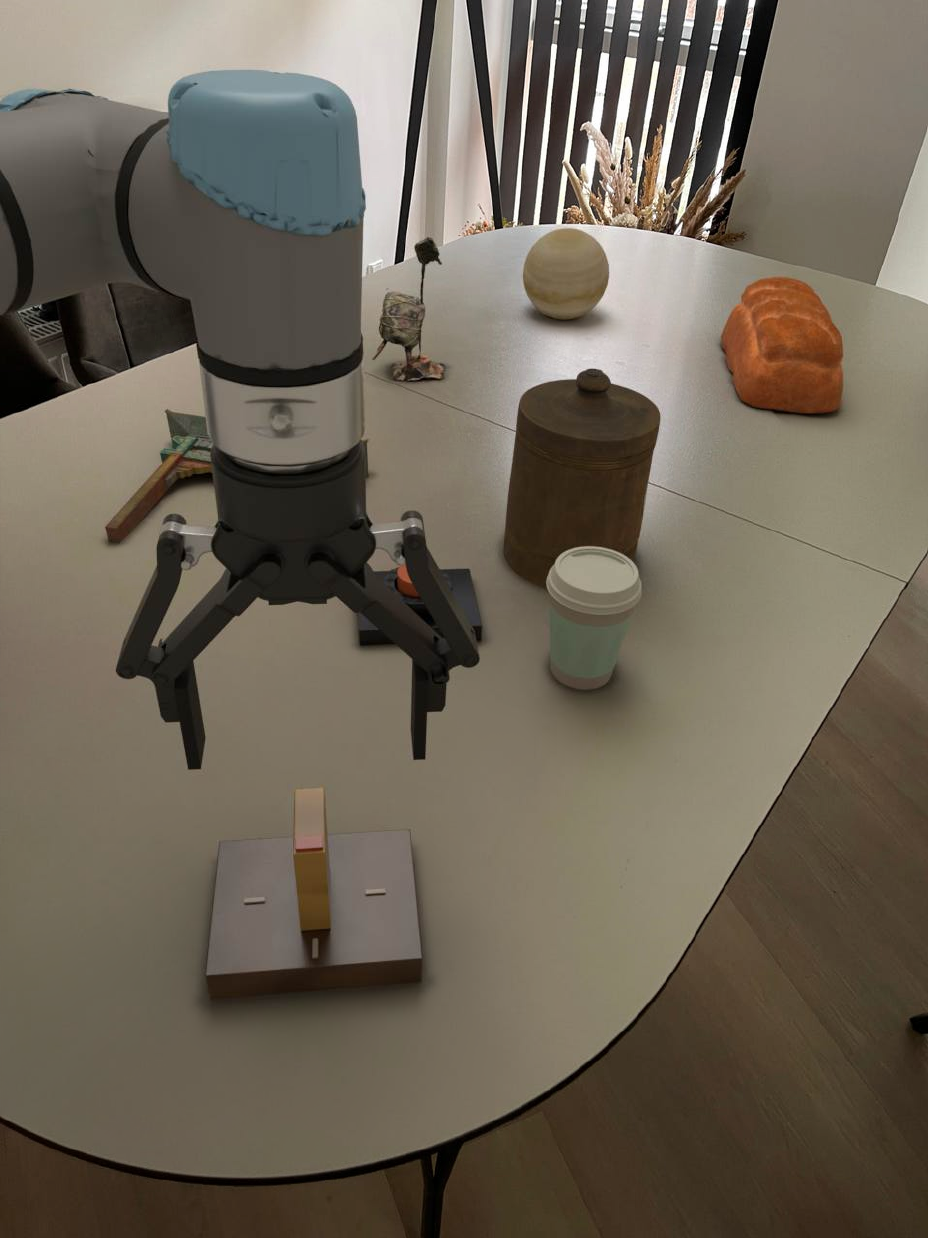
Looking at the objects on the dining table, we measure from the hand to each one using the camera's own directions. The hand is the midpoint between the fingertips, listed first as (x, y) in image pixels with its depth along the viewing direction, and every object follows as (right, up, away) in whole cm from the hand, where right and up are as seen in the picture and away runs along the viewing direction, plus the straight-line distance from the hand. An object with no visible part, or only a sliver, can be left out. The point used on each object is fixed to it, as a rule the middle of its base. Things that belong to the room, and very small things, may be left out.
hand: (309, 749), depth 59 cm
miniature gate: (-17, +23, +56) cm, 63 cm away
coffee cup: (+21, +3, +32) cm, 39 cm away
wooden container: (+21, +15, +48) cm, 55 cm away
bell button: (+5, +11, +36) cm, 38 cm away
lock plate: (-1, -14, +9) cm, 16 cm away
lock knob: (-1, -11, +7) cm, 13 cm away
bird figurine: (+1, +46, +88) cm, 99 cm away
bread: (+60, +48, +94) cm, 121 cm away
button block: (+5, +9, +38) cm, 39 cm away
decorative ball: (+27, +62, +111) cm, 130 cm away
